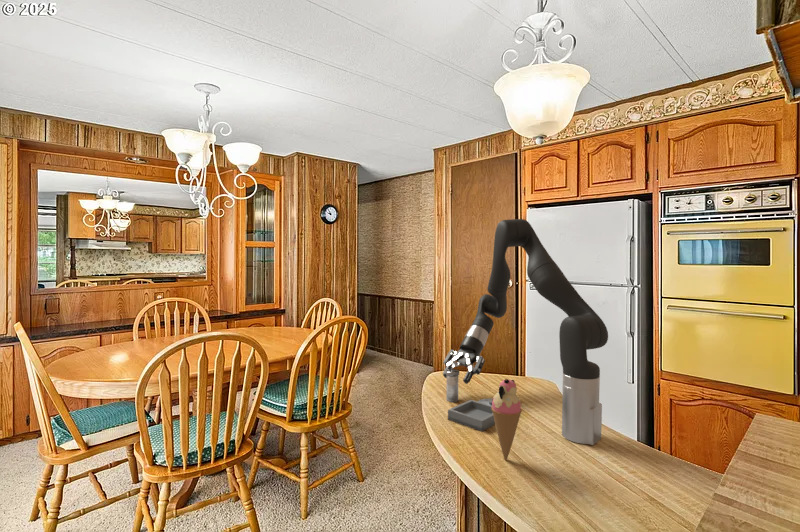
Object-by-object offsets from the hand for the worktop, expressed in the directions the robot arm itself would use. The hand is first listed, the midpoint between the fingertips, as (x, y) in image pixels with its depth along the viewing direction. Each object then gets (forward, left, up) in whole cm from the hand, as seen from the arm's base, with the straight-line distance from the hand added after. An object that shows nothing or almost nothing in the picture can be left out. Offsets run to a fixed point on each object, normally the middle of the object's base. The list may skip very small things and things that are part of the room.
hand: (454, 379), depth 144 cm
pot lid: (-14, -2, -7) cm, 16 cm away
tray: (-15, +9, -7) cm, 19 cm away
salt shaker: (0, +1, -7) cm, 7 cm away
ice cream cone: (-34, +24, -7) cm, 42 cm away
